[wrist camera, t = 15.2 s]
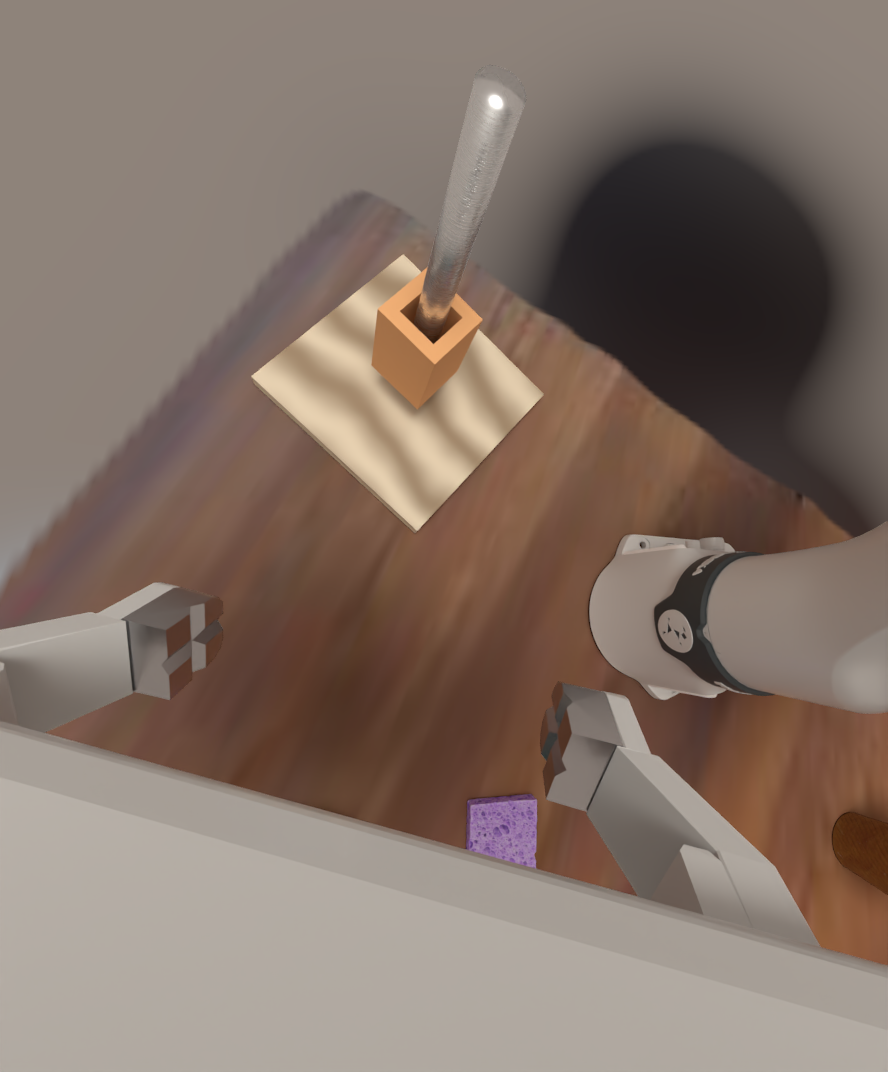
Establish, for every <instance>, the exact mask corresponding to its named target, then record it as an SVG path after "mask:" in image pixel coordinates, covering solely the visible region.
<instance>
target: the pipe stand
mask: <svg viewBox="0 0 888 1072" xmlns="http://www.w3.org/2000/svg"><path fill="white" fill-rule="evenodd" d="M420 273H421V271H420V270H419V269H418V268H417V267H416V266H415V265H414V264H413V263H412V262H411V261H410V260H408V259H407V258H406V257H405V256H404V255H402V256H400V257H399V258H398V259H397V260H395V261H394V262H393V263H392V264H390V265H389V266H388V267H387V268H385V269H384V270H383V271H382V272H381V273H379V274H378V275H377V276H376V277H374V278H373V279H372V280H371V281H369V282H368V283H367V284H366V285H364V286H363V287H362V288H361V289H359V290H358V291H357V292H356V293H354V294H353V295H352V296H351V297H349V298H348V299H347V300H346V301H344V302H343V303H342V304H341V305H339V306H338V307H337V308H336V309H334V310H333V311H332V312H331V313H329V314H328V315H327V316H326V317H324V318H323V319H322V320H321V321H319V322H318V323H317V324H316V325H314V326H313V327H312V328H311V329H310V330H308V331H307V332H306V333H305V334H303V335H302V336H301V337H300V338H298V339H297V340H296V341H295V342H293V343H292V344H291V345H290V346H288V347H287V348H286V349H285V350H283V351H282V352H281V353H280V354H278V355H277V356H276V357H275V358H273V359H272V360H271V361H270V362H268V363H267V364H266V365H265V366H263V367H262V368H261V369H260V370H258V371H257V372H256V373H255V374H253V375H252V376H251V377H252V380H253V382H254V384H255V385H256V386H257V387H258V388H259V389H260V390H261V391H262V392H263V393H264V394H266V395H267V396H268V397H269V398H270V399H271V400H272V401H273V402H274V403H275V404H276V405H277V406H278V407H280V408H281V409H282V410H283V411H284V412H285V413H286V414H287V415H288V416H289V417H290V418H291V419H292V420H293V421H295V422H296V423H297V424H298V425H299V426H300V427H301V428H302V429H303V430H304V431H305V432H306V433H307V434H309V435H310V436H311V437H312V438H313V439H314V440H315V441H316V442H317V443H318V444H319V445H320V446H321V447H323V448H324V449H325V450H326V451H327V452H328V453H329V454H330V455H331V456H332V457H333V458H334V459H335V460H336V461H338V462H339V463H340V464H341V465H342V466H343V467H344V468H345V469H346V470H347V471H348V472H349V473H350V474H352V475H353V476H354V477H355V478H356V479H357V480H358V481H359V482H360V483H361V484H362V485H363V486H364V487H366V488H367V489H368V490H369V491H370V492H371V493H372V494H373V495H374V496H375V497H376V498H377V499H378V500H379V501H381V502H382V503H383V504H384V505H385V506H386V507H387V508H388V509H389V510H390V511H391V512H392V513H393V514H395V515H396V516H397V517H398V518H399V519H400V520H401V521H402V522H403V523H404V524H405V525H406V526H407V527H409V528H410V529H411V530H412V531H413V532H414V533H416V532H417V531H418V530H419V529H420V527H421V526H422V525H423V524H424V523H425V522H426V521H427V520H428V519H429V518H430V517H431V516H432V515H433V513H434V512H435V511H436V510H437V509H438V508H439V507H440V506H441V505H442V504H443V503H444V502H445V501H446V499H447V498H448V497H449V496H450V495H451V494H452V493H453V492H454V491H455V490H456V489H457V488H458V486H459V485H460V484H461V483H462V482H463V481H464V480H465V479H466V478H467V477H468V476H469V475H470V474H471V472H472V471H473V470H474V469H475V468H476V467H477V466H478V465H479V464H480V463H481V462H482V461H483V460H484V458H485V457H486V456H487V455H488V454H489V453H490V452H491V451H492V450H493V449H494V448H495V447H496V445H497V444H498V443H499V442H500V441H501V440H502V439H503V438H504V437H505V436H506V435H507V434H508V433H509V431H510V430H511V429H512V428H513V427H514V426H515V425H516V424H517V423H518V422H519V421H520V420H521V419H522V417H523V416H524V415H525V414H526V413H527V412H528V411H529V410H530V409H531V408H532V407H533V406H534V405H535V403H536V402H537V401H538V400H539V399H540V398H541V397H542V396H543V395H544V394H543V393H542V392H541V391H540V390H539V389H538V388H537V387H536V386H535V385H534V384H533V383H532V382H531V381H530V380H529V379H528V378H527V377H526V376H525V375H524V374H523V373H522V372H521V371H520V370H519V369H518V368H517V367H516V366H515V365H514V364H513V363H512V362H511V361H510V360H509V359H508V358H507V357H506V356H505V355H504V354H503V353H502V352H501V351H500V350H499V349H498V348H497V347H496V346H495V345H494V344H493V343H492V342H491V341H490V340H489V339H488V338H487V337H486V336H485V335H484V334H483V333H482V332H481V331H480V330H479V329H478V330H477V332H476V334H475V336H474V338H473V340H472V342H471V344H470V346H469V348H468V350H467V352H466V354H465V356H464V358H463V360H462V363H461V365H460V367H459V369H458V371H457V372H456V373H455V374H454V375H453V376H452V377H451V378H450V379H449V380H448V381H447V382H446V383H445V384H444V385H443V386H441V387H440V388H439V389H438V390H437V391H436V392H435V393H434V394H433V395H432V396H431V397H430V398H429V399H428V400H427V401H426V402H425V403H424V404H423V405H422V406H421V407H420V408H419V409H418V410H417V409H416V408H415V407H414V406H413V405H412V404H411V403H410V402H409V401H408V400H407V399H406V398H405V397H404V396H403V395H402V394H401V393H400V392H399V391H397V390H396V389H395V388H394V387H393V386H392V385H391V384H390V383H389V382H388V381H387V380H386V379H385V378H384V377H383V376H382V375H381V374H380V373H379V372H378V371H377V370H376V369H375V368H374V367H373V366H371V364H372V355H373V346H374V337H375V328H376V319H377V310H378V308H379V307H380V306H382V305H383V304H384V303H385V302H386V301H388V300H389V299H390V298H391V297H392V296H394V295H395V294H396V293H397V292H398V291H400V290H401V289H402V288H403V287H404V286H406V285H407V284H408V283H409V282H410V281H412V280H413V279H414V278H415V277H416V276H418V275H419V274H420Z"/></svg>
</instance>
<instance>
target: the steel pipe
mask: <svg viewBox="0 0 888 1072" xmlns="http://www.w3.org/2000/svg"><path fill="white" fill-rule="evenodd" d="M525 102H526V93H525V89H524V87H523V85H522V83H521V82H520V80H519V79H518V78H517V77H516V76H515V75H514V74H513V73H511V72H510V71H508V70H507V69H504V68H502V67H499V66H493V65H489V66H485V67H482V68H481V69H480V70H479V71H478V72H477V74H476V76H475V79H474V83H473V87H472V92H471V95H470V100H469V103H468V108H467V112H466V116H465V120H464V124H463V128H462V132H461V136H460V140H459V144H458V148H457V152H456V156H455V160H454V164H453V168H452V172H451V176H450V180H449V184H448V188H447V192H446V196H445V200H444V204H443V208H442V212H441V216H440V220H439V224H438V228H437V232H436V236H435V240H434V244H433V248H432V252H431V256H430V260H429V264H428V268H427V272H426V276H425V280H424V284H423V288H422V292H421V296H420V300H419V304H418V308H417V312H416V316H415V320H414V324H413V325H414V326H415V327H416V328H417V329H418V330H419V331H420V332H422V333H423V334H424V335H425V336H426V337H427V338H428V339H429V340H430V341H431V342H432V343H433V344H434V343H436V342H437V341H438V340H439V338H440V336H441V333H442V330H443V327H444V325H445V322H446V319H447V316H448V314H449V311H450V308H451V305H452V303H453V300H454V297H455V294H456V292H457V289H458V286H459V283H460V281H461V278H462V275H463V272H464V270H465V267H466V264H467V261H468V259H469V256H470V253H471V250H472V248H473V245H474V242H475V239H476V237H477V234H478V231H479V228H480V226H481V223H482V220H483V217H484V215H485V212H486V209H487V206H488V203H489V201H490V198H491V195H492V193H493V190H494V187H495V184H496V182H497V179H498V176H499V173H500V171H501V168H502V165H503V162H504V160H505V157H506V154H507V151H508V149H509V146H510V143H511V140H512V138H513V135H514V132H515V129H516V127H517V124H518V121H519V118H520V116H521V113H522V110H523V107H524V104H525Z"/></svg>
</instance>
